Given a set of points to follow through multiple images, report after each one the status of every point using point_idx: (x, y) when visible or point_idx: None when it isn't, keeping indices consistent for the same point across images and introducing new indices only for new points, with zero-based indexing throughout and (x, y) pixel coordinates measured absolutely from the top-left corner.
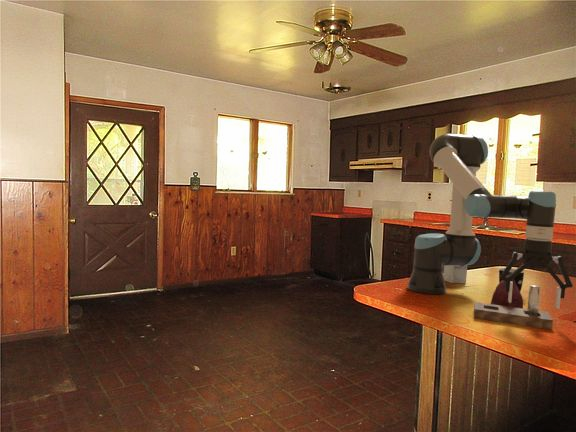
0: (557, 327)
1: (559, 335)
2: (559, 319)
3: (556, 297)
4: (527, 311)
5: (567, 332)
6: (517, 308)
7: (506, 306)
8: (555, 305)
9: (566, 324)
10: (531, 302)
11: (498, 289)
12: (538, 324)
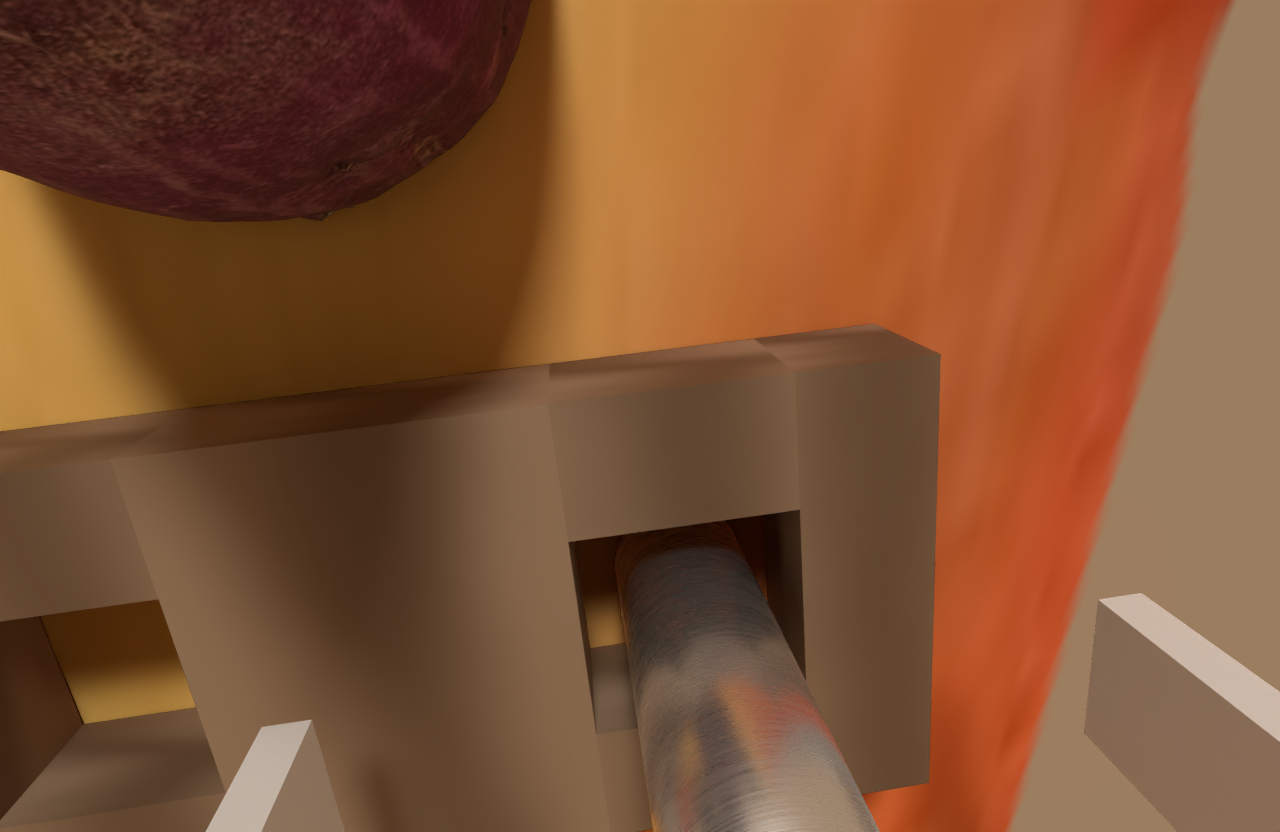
0: (953, 556)
1: (913, 828)
2: (1075, 94)
3: (1263, 803)
4: (629, 662)
5: (1018, 679)
6: (467, 468)
7: (274, 457)
8: (1117, 647)
9: (1100, 334)
10: None
11: None
12: None
